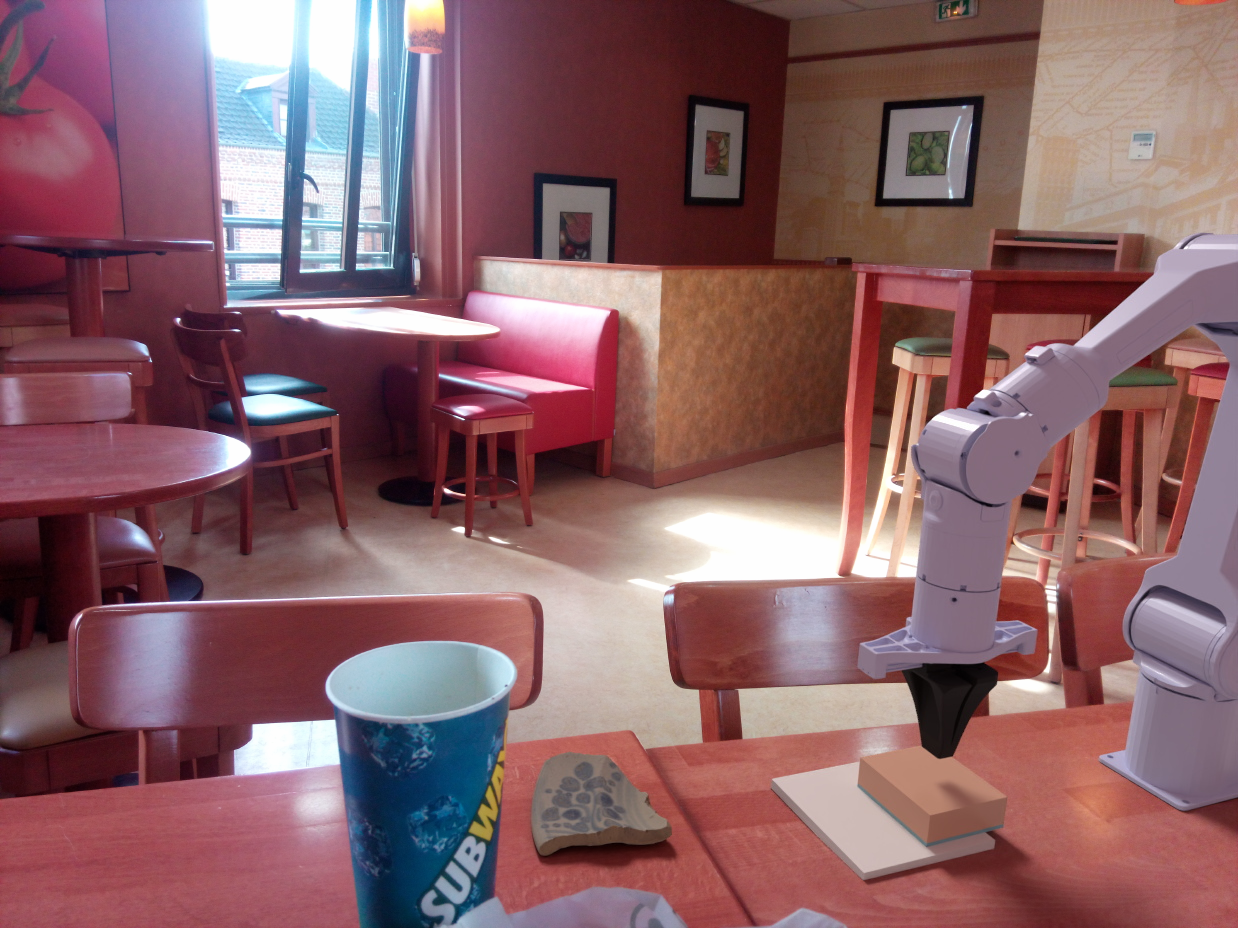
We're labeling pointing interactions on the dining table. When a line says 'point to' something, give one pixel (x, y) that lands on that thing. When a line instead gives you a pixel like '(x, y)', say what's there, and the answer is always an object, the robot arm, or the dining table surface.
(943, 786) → the glazed tile
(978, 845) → the pale grey mat
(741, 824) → the dining table surface
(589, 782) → the ceramic fragment
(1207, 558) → the robot arm
